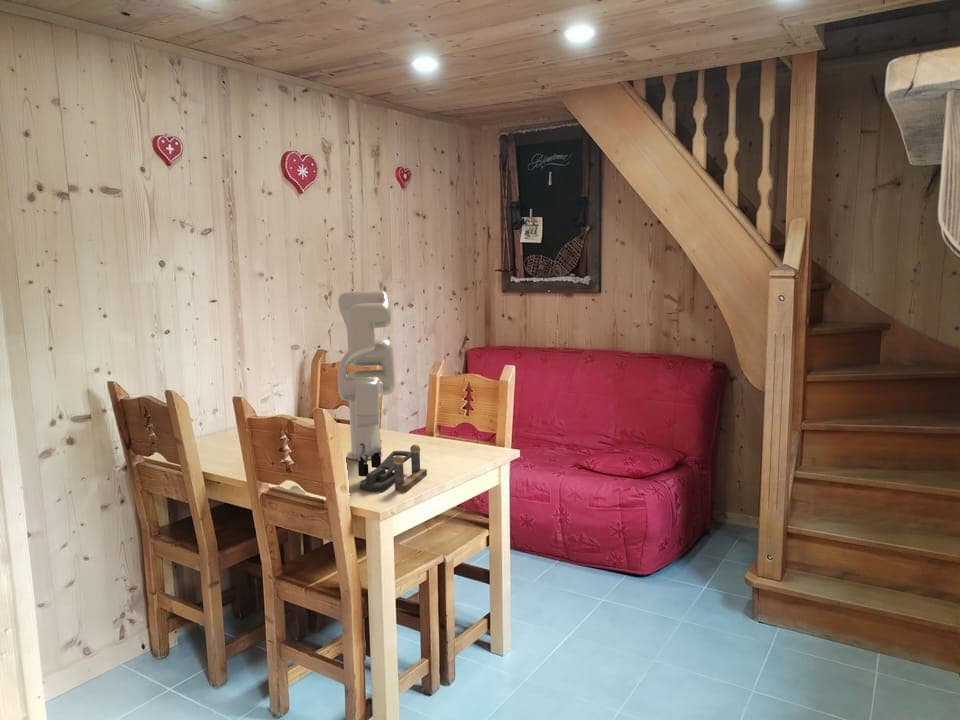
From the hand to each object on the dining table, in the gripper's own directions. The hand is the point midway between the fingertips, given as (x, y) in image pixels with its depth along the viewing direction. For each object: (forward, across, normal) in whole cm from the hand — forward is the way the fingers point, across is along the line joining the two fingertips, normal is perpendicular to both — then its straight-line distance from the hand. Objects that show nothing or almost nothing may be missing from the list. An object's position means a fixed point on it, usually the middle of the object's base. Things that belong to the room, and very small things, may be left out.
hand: (370, 471), depth 214 cm
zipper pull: (+3, -1, +6) cm, 6 cm away
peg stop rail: (+3, 0, +13) cm, 13 cm away
